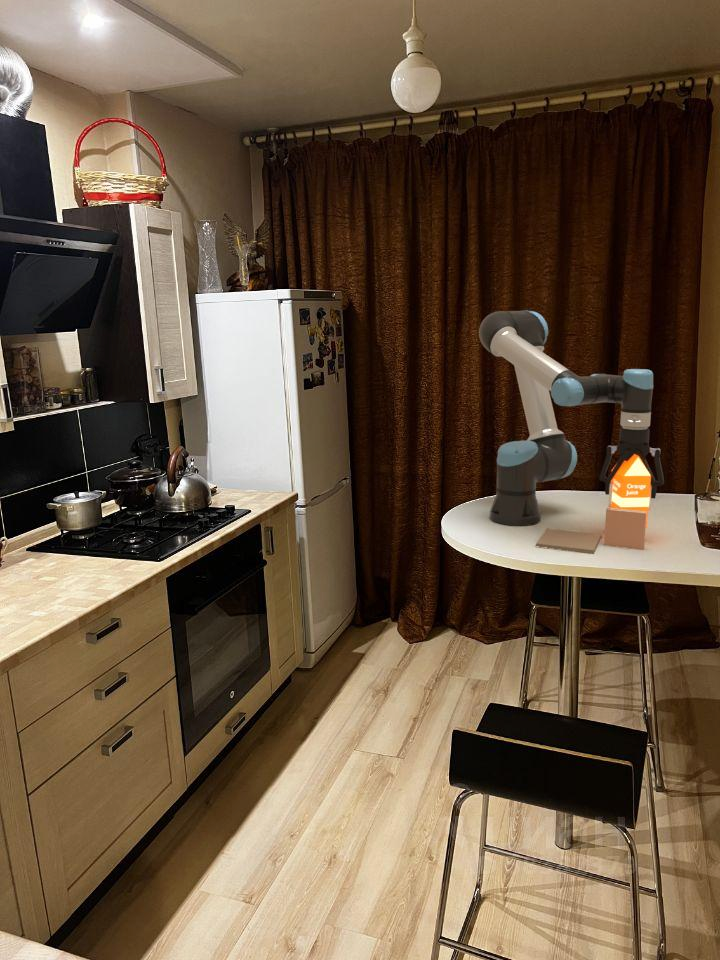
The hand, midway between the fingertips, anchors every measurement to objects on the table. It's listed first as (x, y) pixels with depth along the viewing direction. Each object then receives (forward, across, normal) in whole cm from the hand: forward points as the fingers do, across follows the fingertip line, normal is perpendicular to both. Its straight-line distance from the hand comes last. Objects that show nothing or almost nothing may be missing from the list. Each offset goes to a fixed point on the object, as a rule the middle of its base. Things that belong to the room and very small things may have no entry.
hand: (629, 507), depth 201 cm
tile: (+4, 0, -9) cm, 9 cm away
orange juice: (+5, 0, 0) cm, 5 cm away
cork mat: (+9, -14, -11) cm, 20 cm away
